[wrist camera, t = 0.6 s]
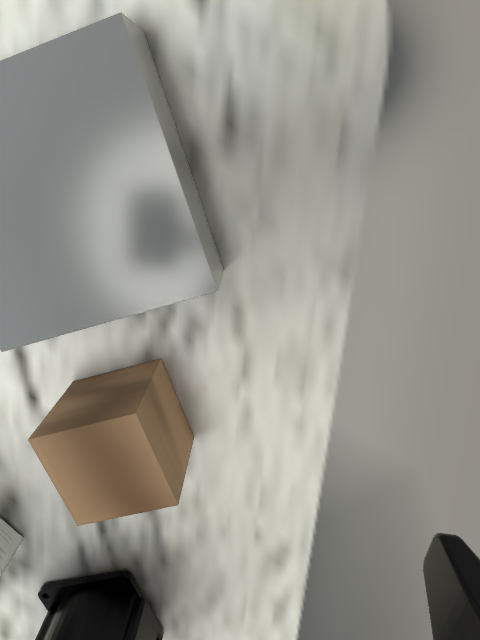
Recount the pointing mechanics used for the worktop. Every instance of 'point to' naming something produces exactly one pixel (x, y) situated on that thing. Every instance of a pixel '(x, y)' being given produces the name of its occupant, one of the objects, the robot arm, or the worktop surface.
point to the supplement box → (7, 544)
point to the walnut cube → (116, 444)
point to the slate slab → (93, 188)
